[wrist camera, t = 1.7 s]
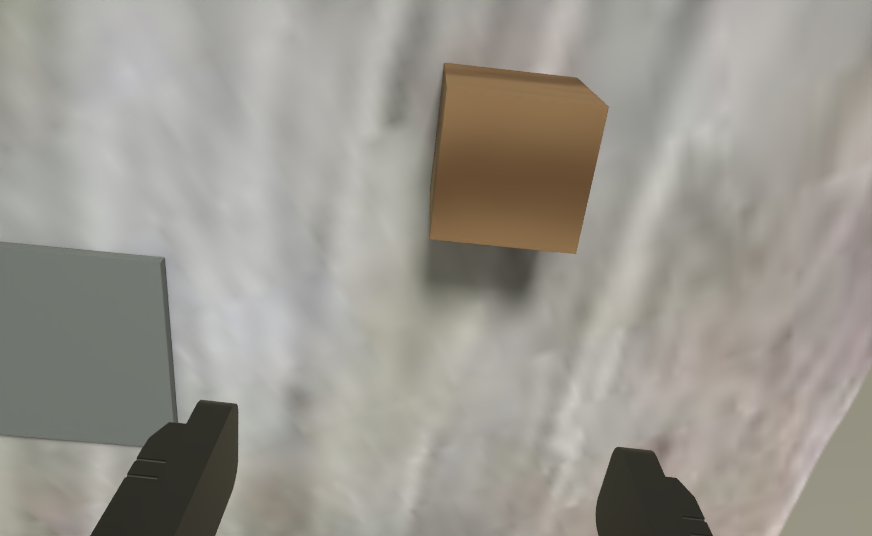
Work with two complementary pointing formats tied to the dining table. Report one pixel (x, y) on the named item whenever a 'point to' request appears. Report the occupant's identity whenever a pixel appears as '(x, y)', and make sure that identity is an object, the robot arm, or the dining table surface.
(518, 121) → the walnut cube
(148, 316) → the coaster
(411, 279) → the dining table surface
